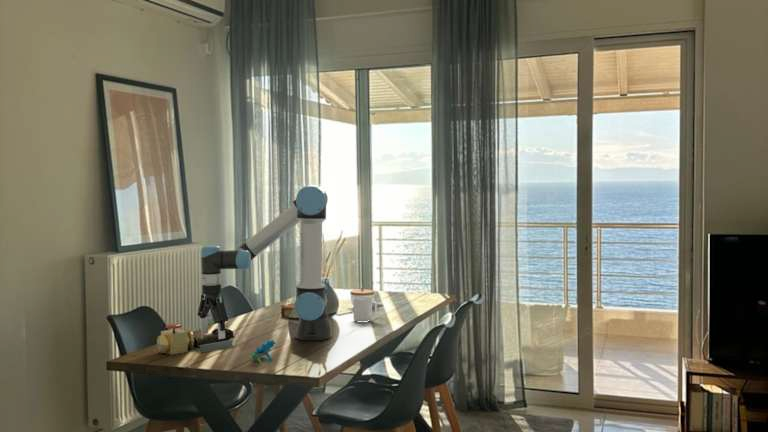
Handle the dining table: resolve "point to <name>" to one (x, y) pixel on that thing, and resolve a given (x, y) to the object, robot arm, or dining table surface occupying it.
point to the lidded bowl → (362, 293)
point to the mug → (363, 308)
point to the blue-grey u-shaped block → (214, 346)
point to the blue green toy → (263, 351)
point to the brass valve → (175, 340)
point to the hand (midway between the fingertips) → (213, 336)
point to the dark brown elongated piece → (212, 338)
